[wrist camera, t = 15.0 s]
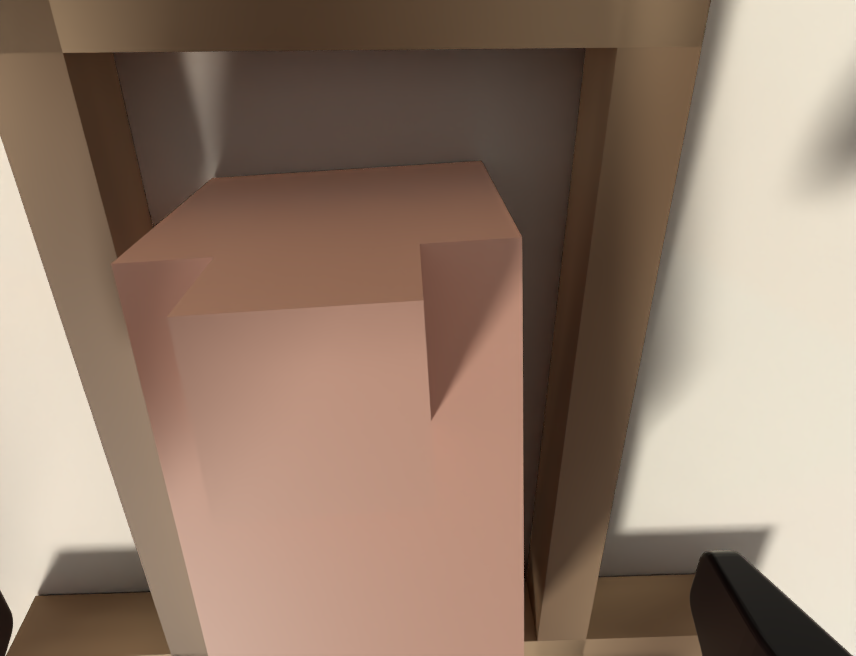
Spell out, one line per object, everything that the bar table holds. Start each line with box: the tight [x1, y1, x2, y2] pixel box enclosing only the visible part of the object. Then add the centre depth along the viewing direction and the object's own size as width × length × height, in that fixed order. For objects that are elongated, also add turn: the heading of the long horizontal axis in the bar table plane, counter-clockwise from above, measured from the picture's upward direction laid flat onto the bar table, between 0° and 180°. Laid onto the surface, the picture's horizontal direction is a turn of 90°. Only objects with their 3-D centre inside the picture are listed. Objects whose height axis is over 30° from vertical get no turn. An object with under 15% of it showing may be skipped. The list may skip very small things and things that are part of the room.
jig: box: [0, 0, 711, 656], centre depth 14 cm, size 15×22×2 cm
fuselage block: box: [111, 161, 524, 656], centre depth 10 cm, size 4×10×6 cm, turn 3°
